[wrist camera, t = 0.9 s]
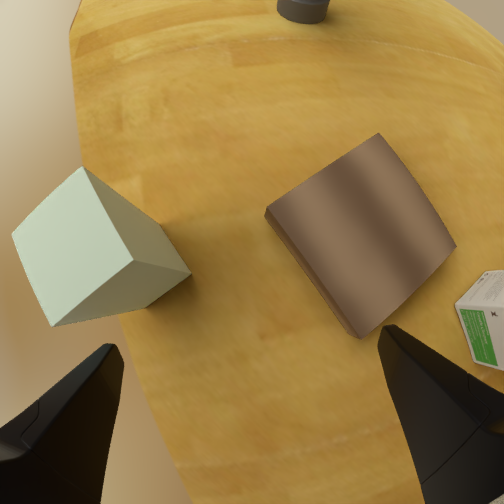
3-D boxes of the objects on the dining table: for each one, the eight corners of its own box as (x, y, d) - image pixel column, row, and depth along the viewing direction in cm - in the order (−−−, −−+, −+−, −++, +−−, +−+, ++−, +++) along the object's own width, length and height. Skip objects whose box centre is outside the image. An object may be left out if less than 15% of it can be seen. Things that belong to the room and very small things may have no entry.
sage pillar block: (144, 308, 23) (51, 327, 10) (113, 258, 23) (11, 234, 11) (192, 273, 23) (133, 259, 11) (159, 223, 24) (82, 165, 11)
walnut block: (348, 333, 23) (361, 339, 20) (264, 216, 24) (267, 206, 21) (438, 250, 24) (456, 246, 21) (366, 146, 25) (378, 132, 22)
